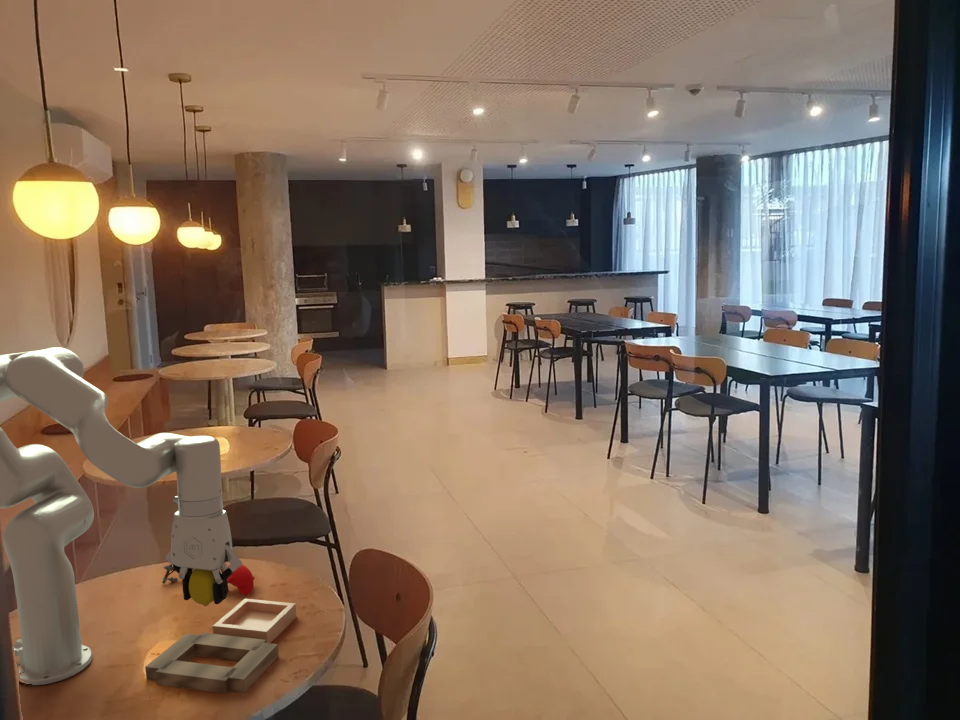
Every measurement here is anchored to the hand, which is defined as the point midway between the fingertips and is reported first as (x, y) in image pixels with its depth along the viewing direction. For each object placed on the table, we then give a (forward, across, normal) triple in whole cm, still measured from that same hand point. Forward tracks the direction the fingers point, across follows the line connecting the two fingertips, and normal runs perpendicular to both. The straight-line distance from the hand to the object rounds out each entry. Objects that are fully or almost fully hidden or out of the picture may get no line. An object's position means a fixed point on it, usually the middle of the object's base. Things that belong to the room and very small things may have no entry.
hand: (205, 597), depth 136 cm
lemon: (+2, 0, 0) cm, 2 cm away
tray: (+14, +1, +15) cm, 21 cm away
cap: (+14, -12, +30) cm, 36 cm away
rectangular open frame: (+14, +1, 0) cm, 14 cm away
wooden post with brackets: (+15, -29, +32) cm, 46 cm away
